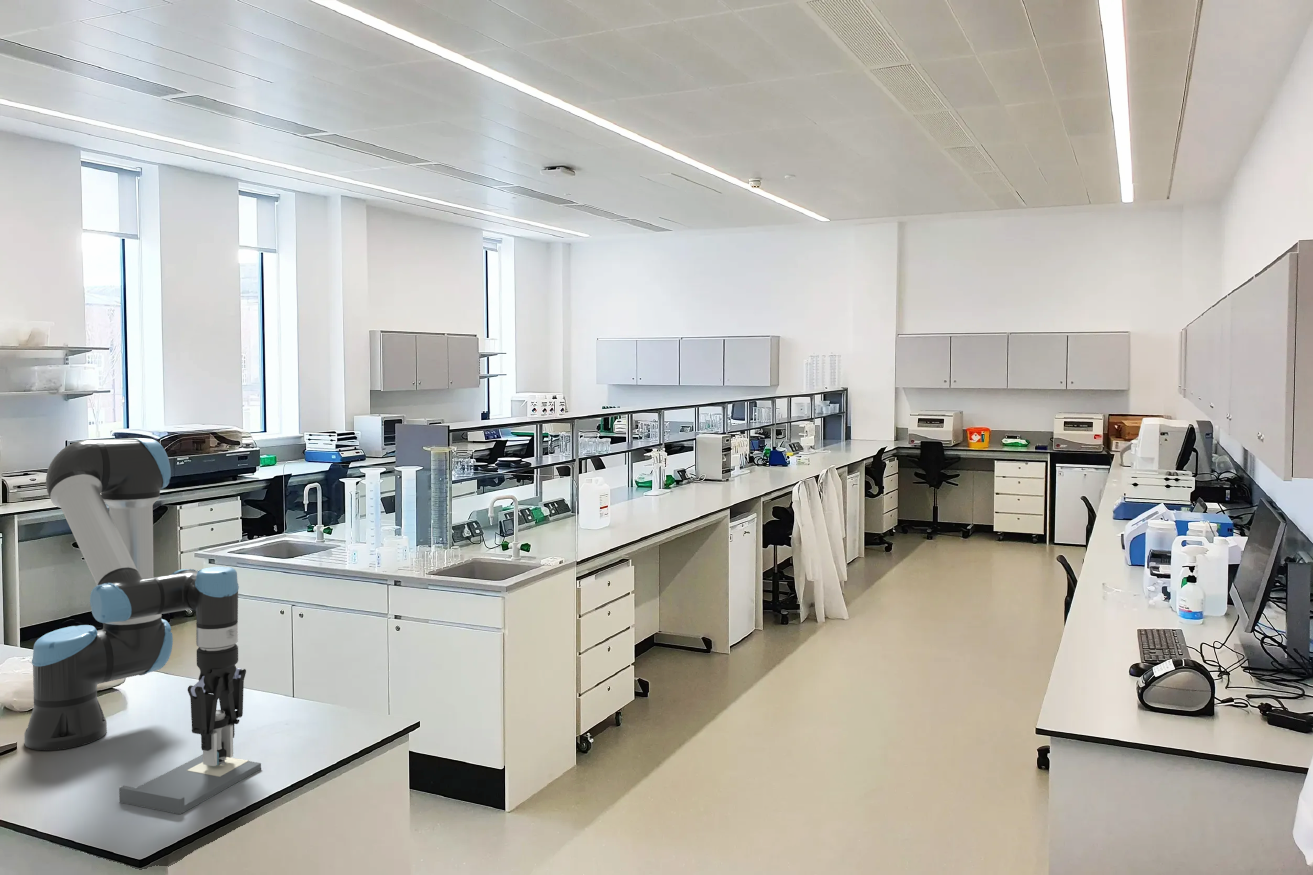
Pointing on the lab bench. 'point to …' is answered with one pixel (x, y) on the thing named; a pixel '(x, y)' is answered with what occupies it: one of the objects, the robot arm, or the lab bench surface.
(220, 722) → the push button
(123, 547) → the robot arm
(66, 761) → the lab bench surface
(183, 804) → the grey lipped board
